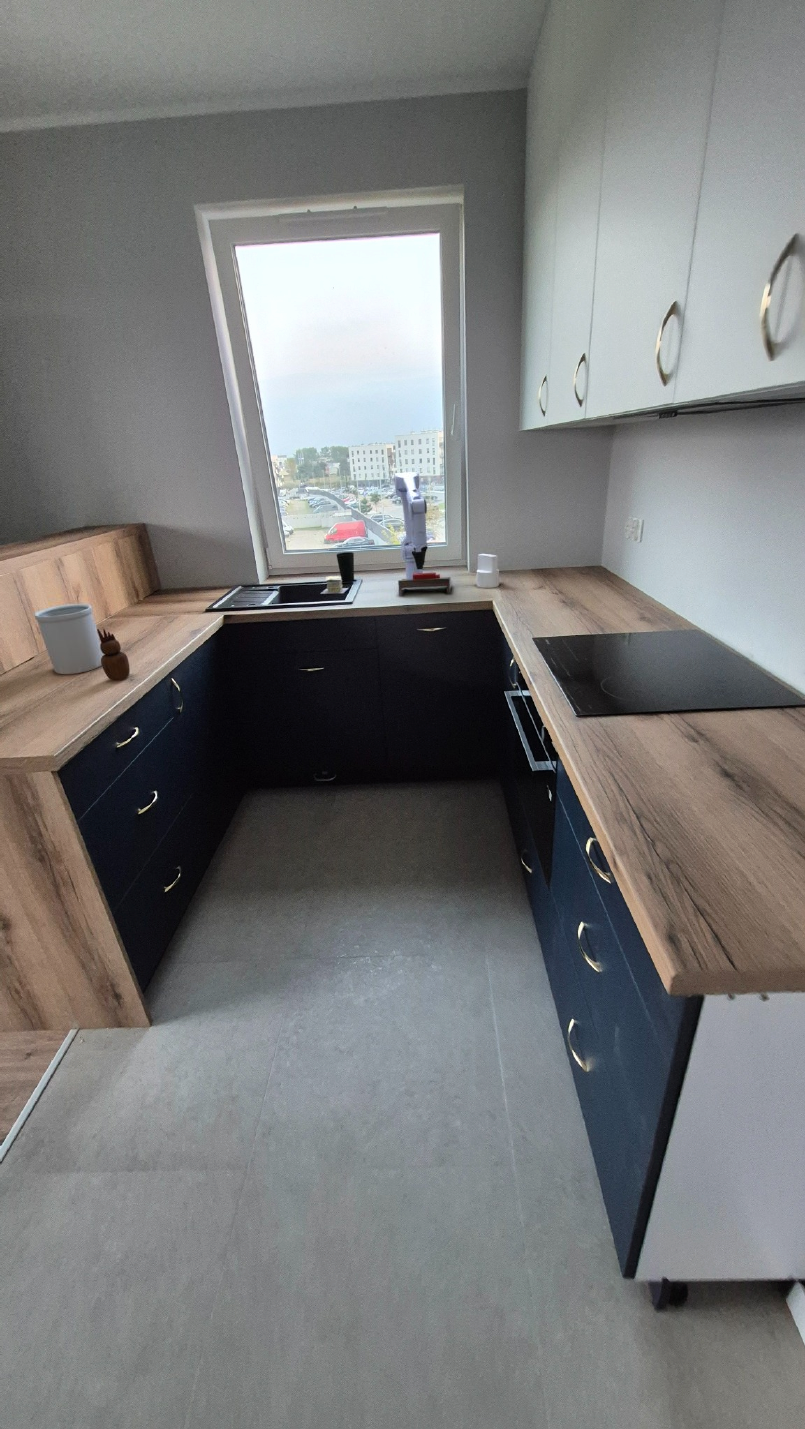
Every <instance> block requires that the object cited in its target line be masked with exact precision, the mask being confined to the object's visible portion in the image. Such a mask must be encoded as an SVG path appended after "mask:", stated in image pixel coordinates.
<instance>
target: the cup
mask: <svg viewBox="0 0 805 1429" xmlns="http://www.w3.org/2000/svg"><path fill="white" fill-rule="evenodd" d="M354 556H355V553H354V552H352V551H344V552H338V553H336V559H337V560H336V561H337V564H338V569H339V575H340V577H341V578H340V580H342V581H341V582H342V583H352V582H355V557H354Z"/></svg>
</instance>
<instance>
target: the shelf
mask: <svg viewBox="0 0 805 1429" xmlns="http://www.w3.org/2000/svg"><path fill="white" fill-rule="evenodd" d="M451 580H452V579H451V576H443V577H441V576H440V578H438V579H415V580H413V579H406V578H401V579H399V580H398V581H397V582H398V583H397V584H398V596H399V597H402V596H403V595H404V593H405V590H406V589H414V588H417V589H418V588H440V587H441V588H442V587H443V588H444V587H446V595H450V594H451V588H452V581H451Z"/></svg>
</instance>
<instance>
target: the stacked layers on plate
mask: <svg viewBox="0 0 805 1429" xmlns="http://www.w3.org/2000/svg"><path fill="white" fill-rule="evenodd" d="M325 581H326V582H325V583H326V584H327V585H326V588H325V589H323V591H321V592H320V594H321V595H322V594H323V595H326V594H344V593H345V592H346V591H348V590H349V587H347V588H346V587H343V586H344V585H343V582H342V580H341V576H333V575H332V576H326V577H325Z"/></svg>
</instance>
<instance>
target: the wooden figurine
mask: <svg viewBox="0 0 805 1429" xmlns="http://www.w3.org/2000/svg"><path fill="white" fill-rule="evenodd" d="M96 629H97V633H98V637H99V640H100V649H101V651H102V653H103V656H102V658H101V667H102V670H103V672H104V674H105V676H106V677H107V678H108V679H109V680H110V681H122V680H125V679H127V678H128V677H129V676H130V672H131V671H130V661H129V658H128V656H127V654H126V653H125V652H123V651H122V646H121V644H120V642H119V640H117V639H116V636H115V635H114V633H110V631H106V629H105V628H103V629H102V632H103V634H102V632H101V631H100V629H99V628H96Z"/></svg>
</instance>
